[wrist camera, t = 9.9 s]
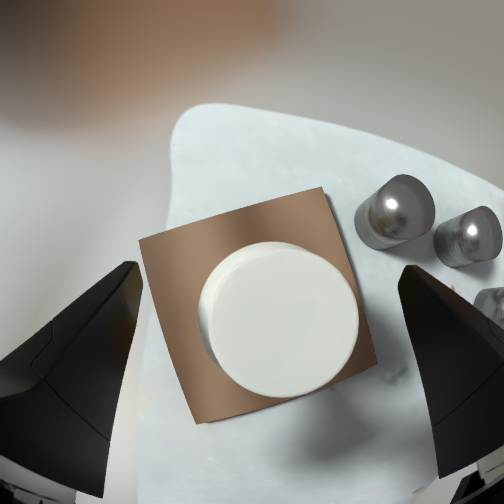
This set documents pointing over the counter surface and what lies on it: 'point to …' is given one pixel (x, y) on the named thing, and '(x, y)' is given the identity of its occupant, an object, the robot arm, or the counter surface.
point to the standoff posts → (446, 236)
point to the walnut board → (202, 265)
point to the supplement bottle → (278, 319)
